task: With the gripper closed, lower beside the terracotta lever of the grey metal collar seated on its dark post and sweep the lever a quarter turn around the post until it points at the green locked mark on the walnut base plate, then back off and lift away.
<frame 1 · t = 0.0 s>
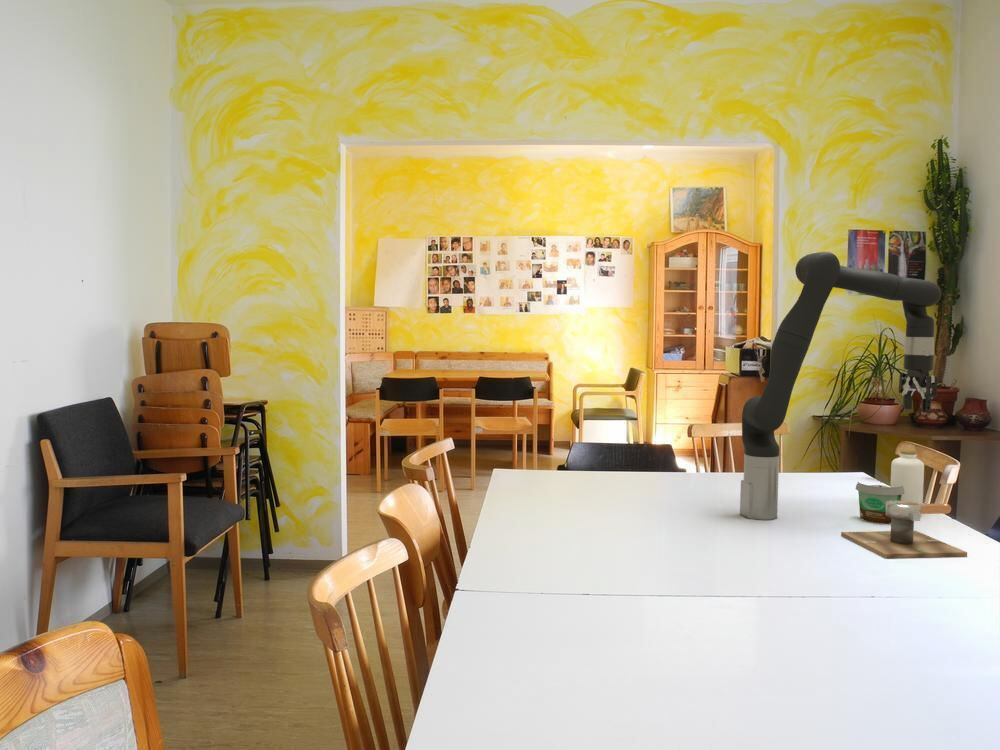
hand: (916, 410, 236), 29 cm above the table, fingers open, 8 cm apart
post base: (901, 545, 204), on the table
potion bottle: (905, 514, 238), on the table
food container: (877, 522, 228), on the table
collar: (919, 509, 204), point 9 cm above the table, hinge at 0.0°
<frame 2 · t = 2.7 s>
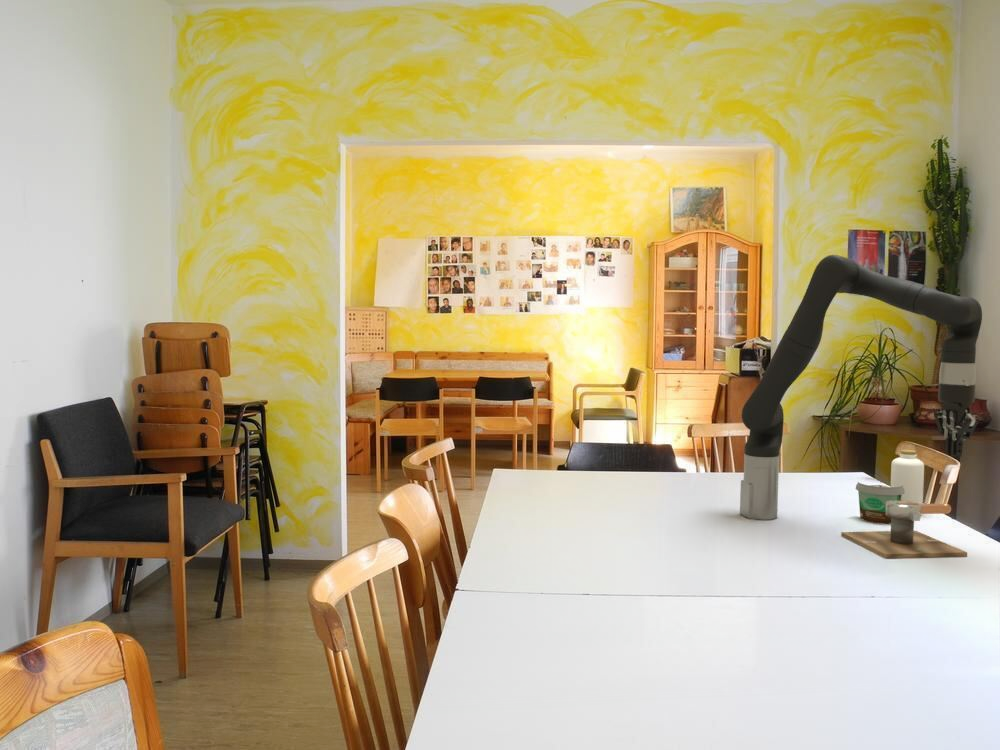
hand: (953, 455, 197), 23 cm above the table, fingers closed
nothing on the table moved.
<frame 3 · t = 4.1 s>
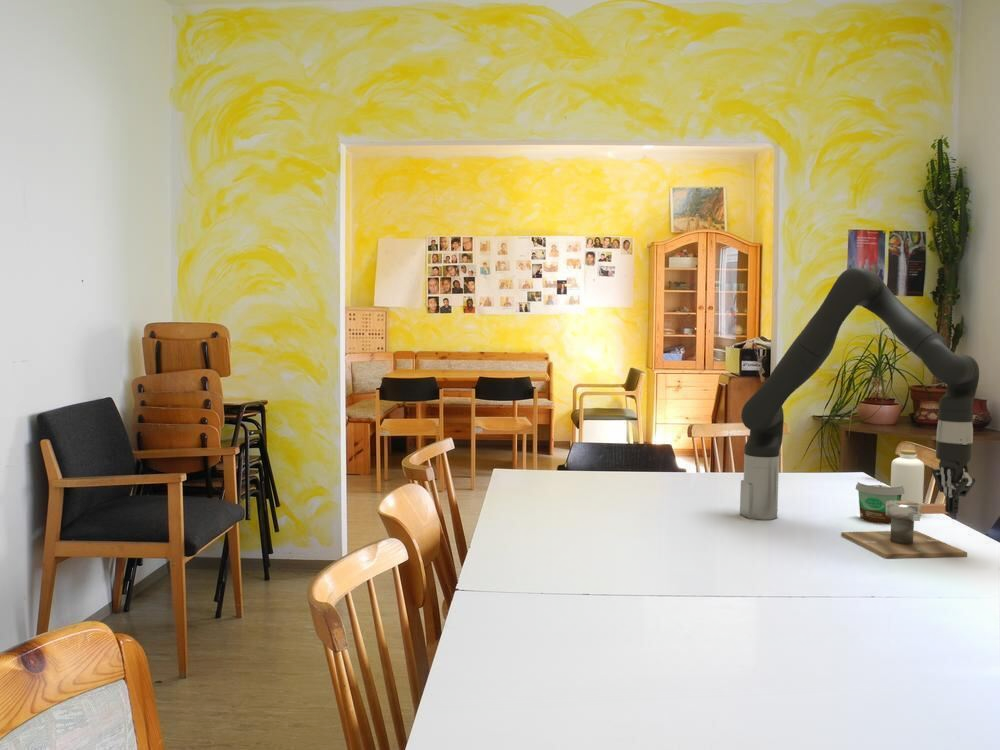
hand: (951, 512, 198), 9 cm above the table, fingers closed
nothing on the table moved.
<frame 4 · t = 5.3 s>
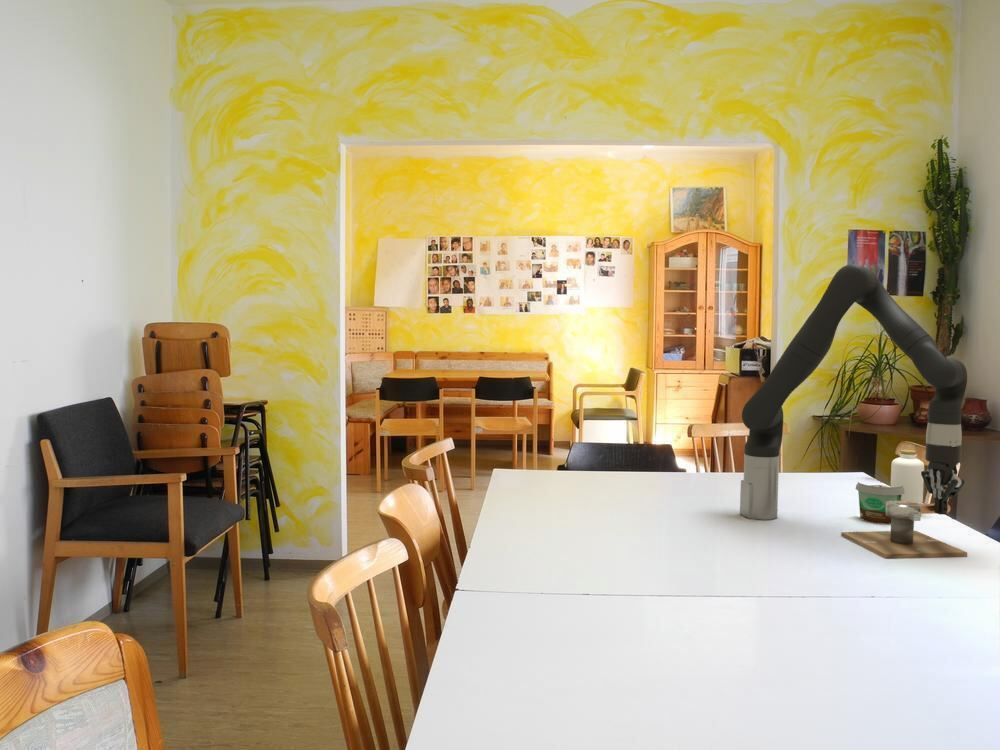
hand: (940, 513, 201), 8 cm above the table, fingers closed
collar: (919, 509, 204), point 9 cm above the table, hinge at 1.5°, touching gripper
everything else where it was.
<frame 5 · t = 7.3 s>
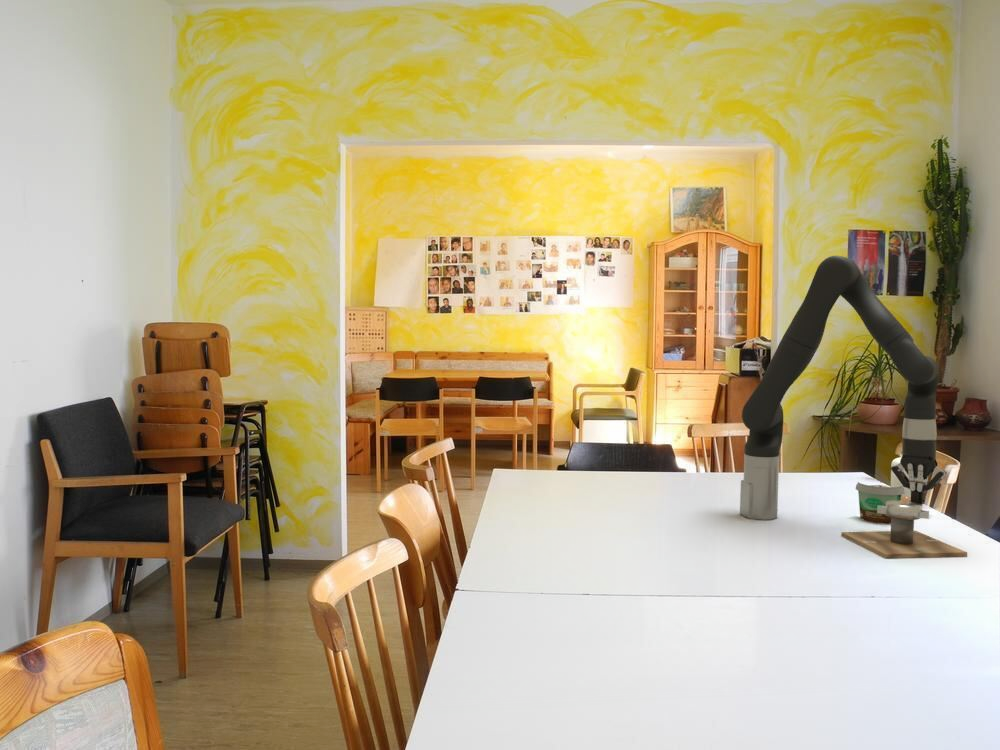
hand: (917, 505, 209), 9 cm above the table, fingers closed
collar: (904, 506, 207), point 9 cm above the table, hinge at 54.3°, touching gripper
everything else where it was.
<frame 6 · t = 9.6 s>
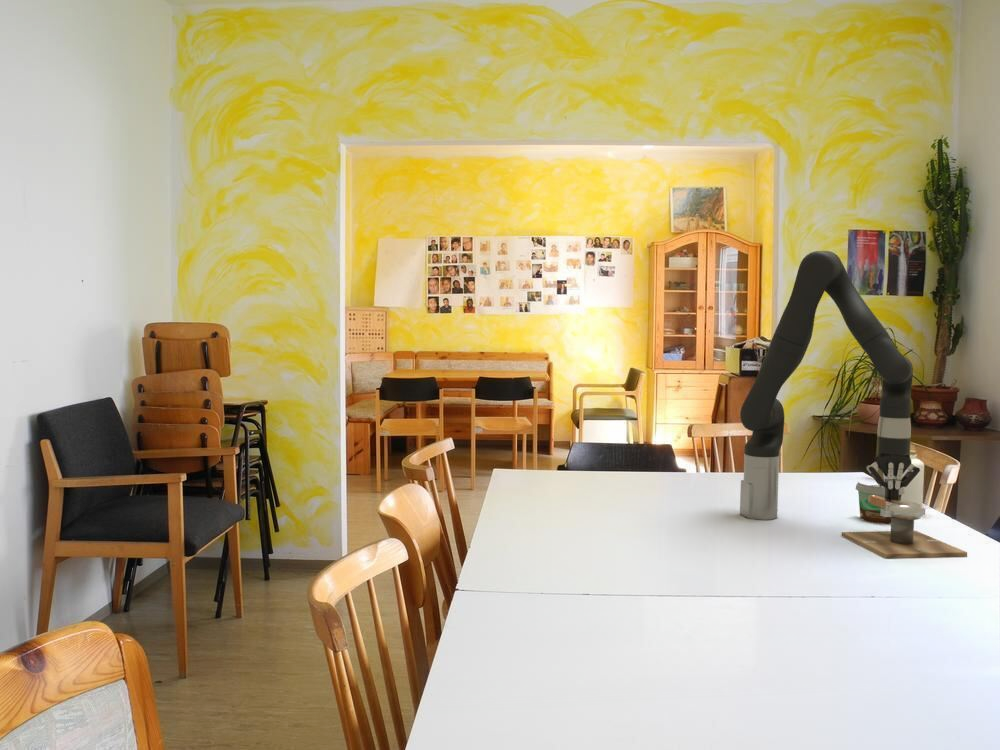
hand: (891, 503, 211), 9 cm above the table, fingers closed
collar: (891, 505, 207), point 9 cm above the table, hinge at 96.5°
everything else where it was.
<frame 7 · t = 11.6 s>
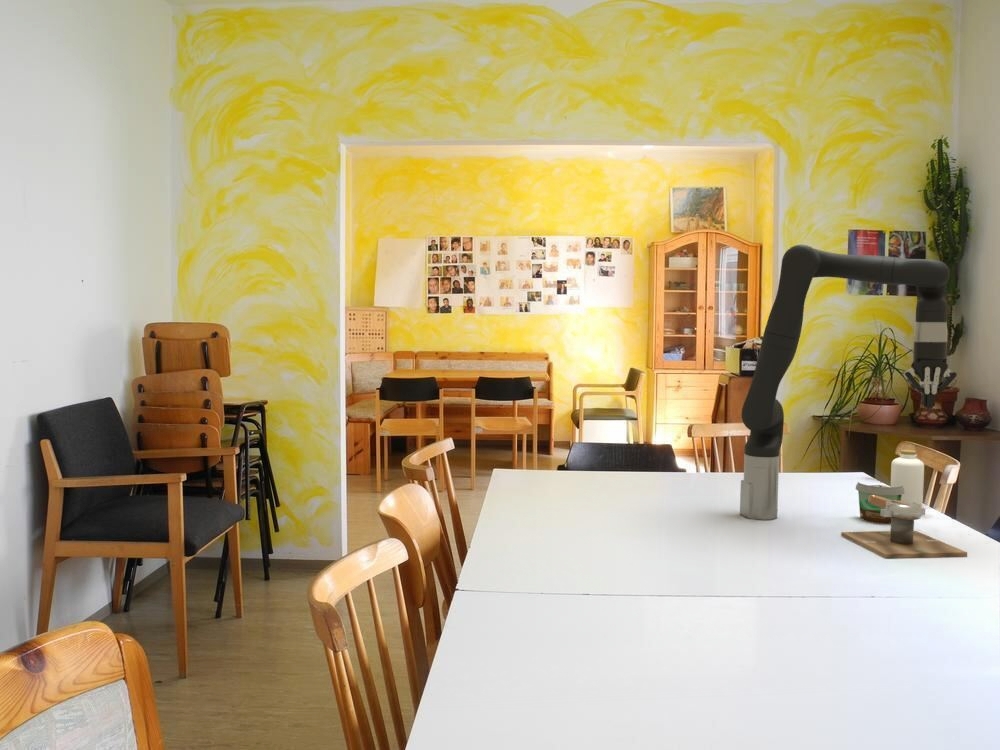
hand: (928, 408, 212), 32 cm above the table, fingers closed
nothing on the table moved.
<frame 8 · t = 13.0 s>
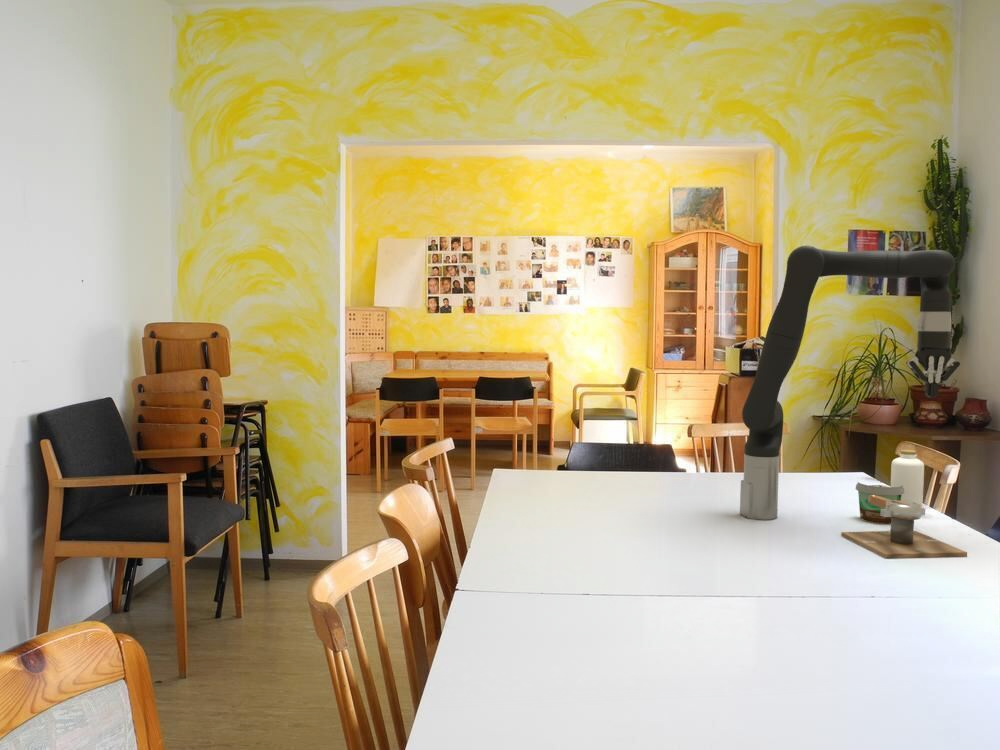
hand: (931, 397, 215), 35 cm above the table, fingers closed
nothing on the table moved.
at the end: collar at +96° (first picture: +0°); the gripper is holding nothing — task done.
